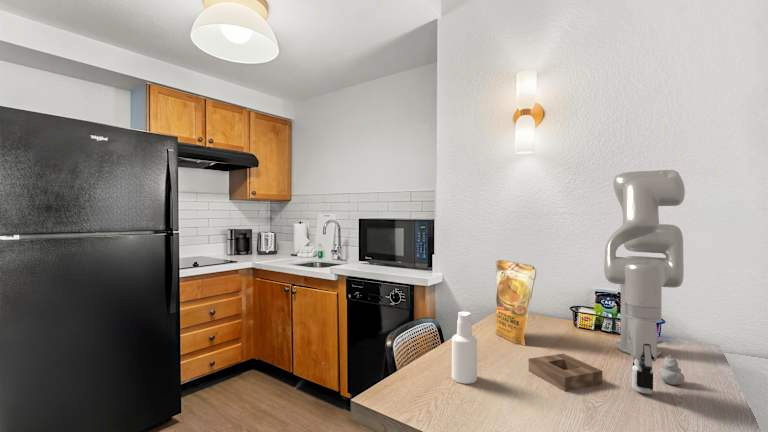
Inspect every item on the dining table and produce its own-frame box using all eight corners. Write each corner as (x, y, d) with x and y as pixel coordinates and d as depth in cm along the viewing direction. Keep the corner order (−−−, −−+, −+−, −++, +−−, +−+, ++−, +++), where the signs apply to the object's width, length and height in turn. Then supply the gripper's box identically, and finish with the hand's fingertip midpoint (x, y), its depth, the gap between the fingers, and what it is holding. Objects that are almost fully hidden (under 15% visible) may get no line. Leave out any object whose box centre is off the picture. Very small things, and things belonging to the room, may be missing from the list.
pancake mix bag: (502, 329, 143) (502, 259, 143) (537, 345, 125) (538, 265, 125) (488, 331, 141) (488, 259, 141) (522, 347, 123) (522, 265, 123)
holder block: (563, 365, 109) (563, 353, 109) (602, 383, 96) (602, 370, 96) (528, 370, 104) (528, 358, 104) (564, 391, 92) (564, 377, 92)
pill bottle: (656, 394, 89) (657, 363, 89) (636, 393, 90) (637, 362, 90) (647, 386, 93) (647, 356, 93) (628, 384, 94) (628, 355, 94)
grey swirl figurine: (653, 381, 98) (653, 351, 98) (667, 376, 101) (667, 348, 101) (676, 389, 93) (676, 358, 94) (690, 384, 96) (690, 354, 96)
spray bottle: (477, 375, 101) (478, 311, 101) (475, 386, 95) (476, 317, 95) (453, 371, 103) (453, 309, 103) (449, 382, 97) (450, 315, 97)
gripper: (619, 302, 100) (619, 367, 101) (631, 318, 85) (630, 395, 85) (652, 305, 97) (652, 372, 97) (670, 322, 82) (670, 402, 82)
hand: (642, 382), depth 91 cm, fingers closed on pill bottle, 4 cm apart
